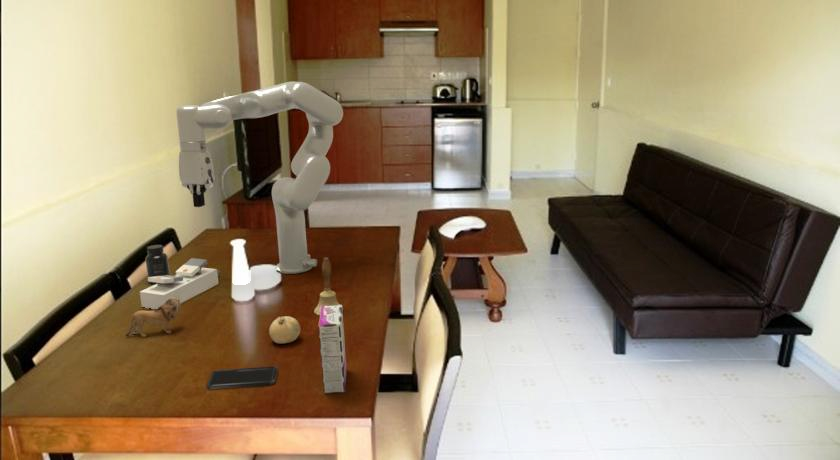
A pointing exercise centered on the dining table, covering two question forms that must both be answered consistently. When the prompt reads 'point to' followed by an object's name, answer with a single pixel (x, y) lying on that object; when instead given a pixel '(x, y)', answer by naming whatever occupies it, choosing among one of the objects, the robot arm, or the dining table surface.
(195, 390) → the dining table surface
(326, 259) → the hand bell
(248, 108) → the robot arm
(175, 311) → the lion figurine
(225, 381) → the phone
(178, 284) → the strip
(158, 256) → the supplement bottle
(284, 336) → the onion
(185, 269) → the rocker
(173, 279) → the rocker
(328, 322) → the candy bar box
